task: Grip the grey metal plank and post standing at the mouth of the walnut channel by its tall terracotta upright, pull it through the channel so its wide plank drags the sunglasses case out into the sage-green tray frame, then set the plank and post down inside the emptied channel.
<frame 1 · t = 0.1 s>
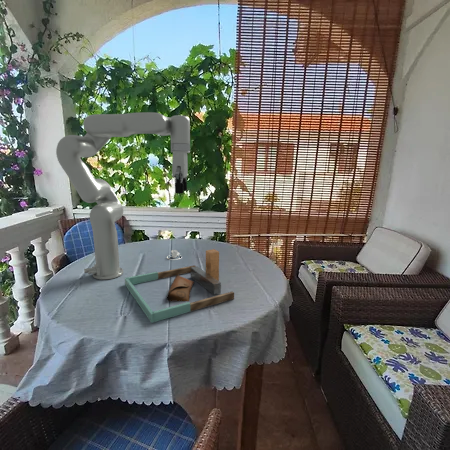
hand: (181, 191, 118), 37 cm above the table, tool pointing down, fingers open, 9 cm apart
plank and post: (212, 283, 120), on the table
channel: (192, 287, 115), on the table
tray: (155, 296, 107), on the table
sunglasses case: (181, 292, 113), on the table
white looped piece: (180, 258, 151), on the table
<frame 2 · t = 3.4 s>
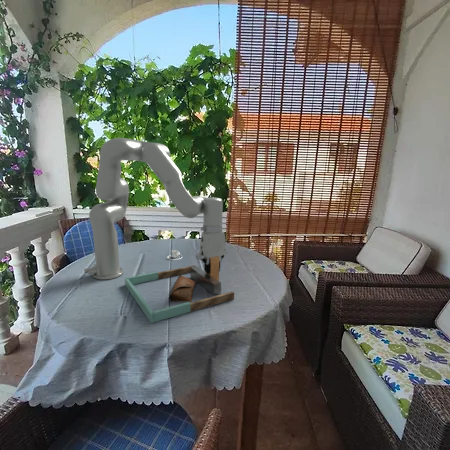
hand: (212, 271, 119), 5 cm above the table, tool pointing down, fingers closed on plank and post, 4 cm apart
plank and post: (212, 283, 120), on the table, touching gripper
sunglasses case: (184, 292, 113), on the table
everything else where it was.
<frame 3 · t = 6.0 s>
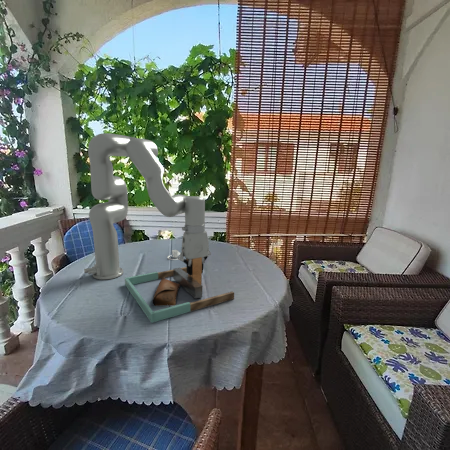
hand: (195, 272, 114), 6 cm above the table, tool pointing down, fingers closed on plank and post, 4 cm apart
plank and post: (194, 285, 116), point 1 cm above the table, touching gripper, sunglasses case
sunglasses case: (167, 295, 109), on the table, touching plank and post
everything else where it was.
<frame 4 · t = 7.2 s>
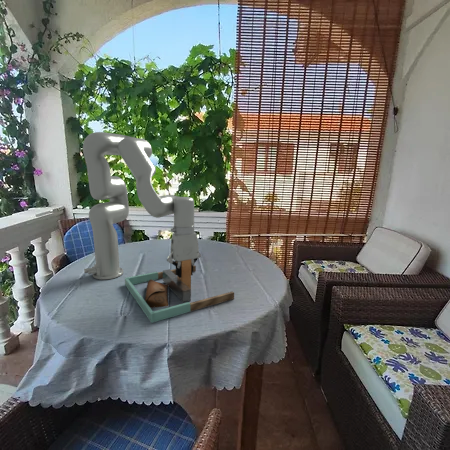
hand: (184, 274, 112), 6 cm above the table, tool pointing down, fingers closed on plank and post, 4 cm apart
plank and post: (184, 287, 114), on the table, touching gripper
sunglasses case: (157, 297, 108), on the table
everything else where it was.
when the fingers open (6 cm above the table, at t = 12.7 s): plank and post stays where it is, on the table.
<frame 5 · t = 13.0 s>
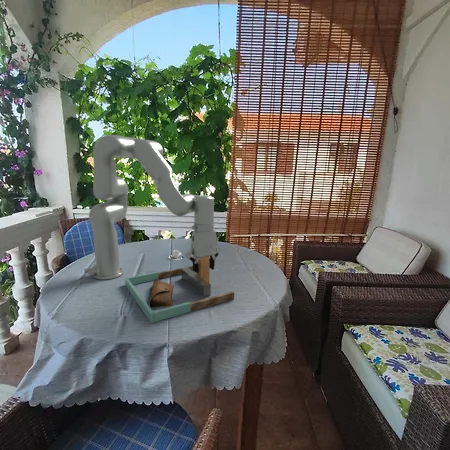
hand: (203, 269, 116), 7 cm above the table, tool pointing down, fingers open, 6 cm apart
plank and post: (202, 284, 118), on the table
sunglasses case: (162, 297, 108), on the table
everything else where it was.
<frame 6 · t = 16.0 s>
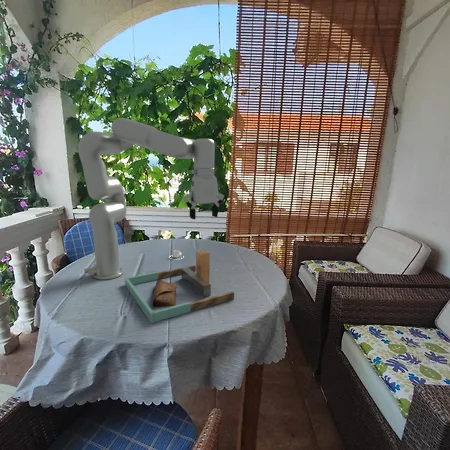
hand: (204, 217, 111), 28 cm above the table, tool pointing down, fingers open, 9 cm apart
sunglasses case: (165, 297, 108), on the table
at the end: sunglasses case inside the target area (5.0 cm from its centre), on the table; the gripper is holding nothing; plank and post tilted 0° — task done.
